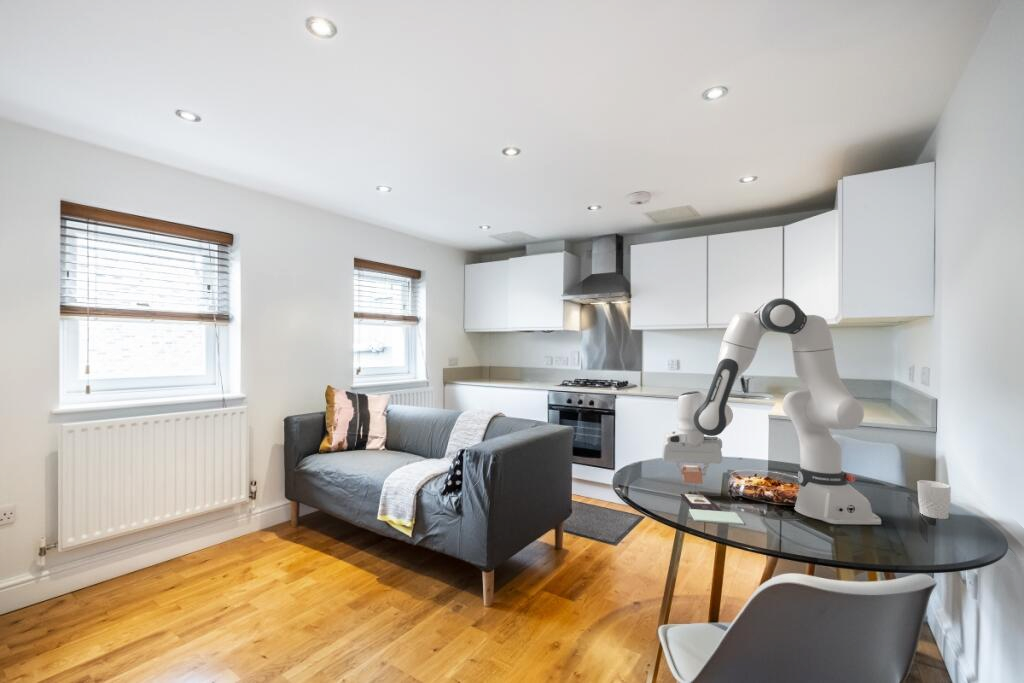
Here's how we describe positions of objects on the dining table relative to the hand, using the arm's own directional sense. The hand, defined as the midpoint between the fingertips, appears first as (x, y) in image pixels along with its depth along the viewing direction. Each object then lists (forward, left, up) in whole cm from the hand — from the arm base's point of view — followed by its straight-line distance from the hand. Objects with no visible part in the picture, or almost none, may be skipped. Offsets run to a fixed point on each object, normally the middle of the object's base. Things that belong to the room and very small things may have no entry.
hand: (692, 474), depth 164 cm
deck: (0, 0, -2) cm, 2 cm away
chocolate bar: (-1, +11, -8) cm, 14 cm away
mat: (-3, +22, -7) cm, 23 cm away
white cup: (-72, +5, -7) cm, 73 cm away
